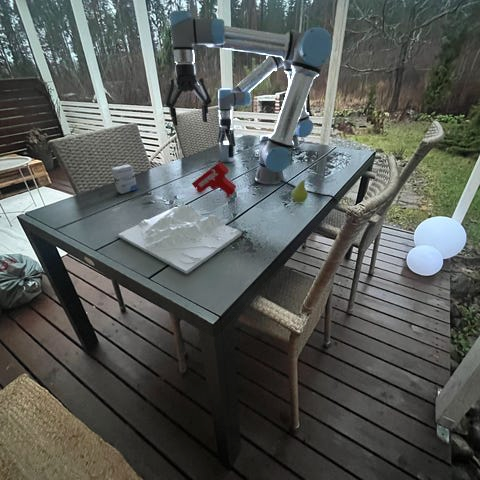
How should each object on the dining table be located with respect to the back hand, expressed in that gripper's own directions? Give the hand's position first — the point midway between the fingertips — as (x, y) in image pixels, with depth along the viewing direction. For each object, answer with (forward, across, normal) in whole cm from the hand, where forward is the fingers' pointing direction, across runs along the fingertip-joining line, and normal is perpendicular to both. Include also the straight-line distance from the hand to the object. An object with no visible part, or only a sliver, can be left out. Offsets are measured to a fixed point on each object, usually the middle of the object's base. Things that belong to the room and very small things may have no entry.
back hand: (226, 155), depth 174 cm
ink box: (+3, +14, -67) cm, 69 cm away
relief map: (+3, +68, -64) cm, 94 cm away
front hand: (-28, +36, -40) cm, 61 cm away
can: (+3, 0, 0) cm, 3 cm away
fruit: (+3, +73, -9) cm, 74 cm away
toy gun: (+3, +42, -34) cm, 54 cm away
